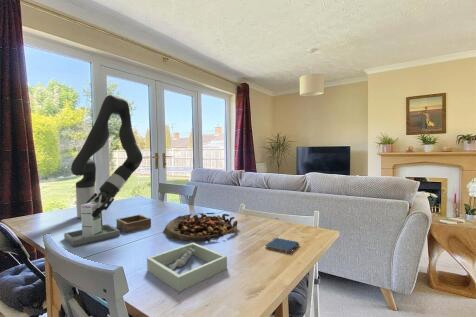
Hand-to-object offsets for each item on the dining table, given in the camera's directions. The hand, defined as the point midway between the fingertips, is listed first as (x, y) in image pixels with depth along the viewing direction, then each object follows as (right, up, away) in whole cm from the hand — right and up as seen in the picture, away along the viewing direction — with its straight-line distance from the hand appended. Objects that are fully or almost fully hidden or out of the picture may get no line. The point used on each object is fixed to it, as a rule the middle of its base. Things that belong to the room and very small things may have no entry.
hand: (88, 215), depth 112 cm
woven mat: (+82, -10, -12) cm, 84 cm away
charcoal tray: (+1, -10, +2) cm, 10 cm away
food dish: (+47, -10, +11) cm, 50 cm away
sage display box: (+49, -11, -29) cm, 58 cm away
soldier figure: (+46, -11, -27) cm, 55 cm away
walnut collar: (+13, -9, +16) cm, 23 cm away
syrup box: (+1, -10, +2) cm, 10 cm away
